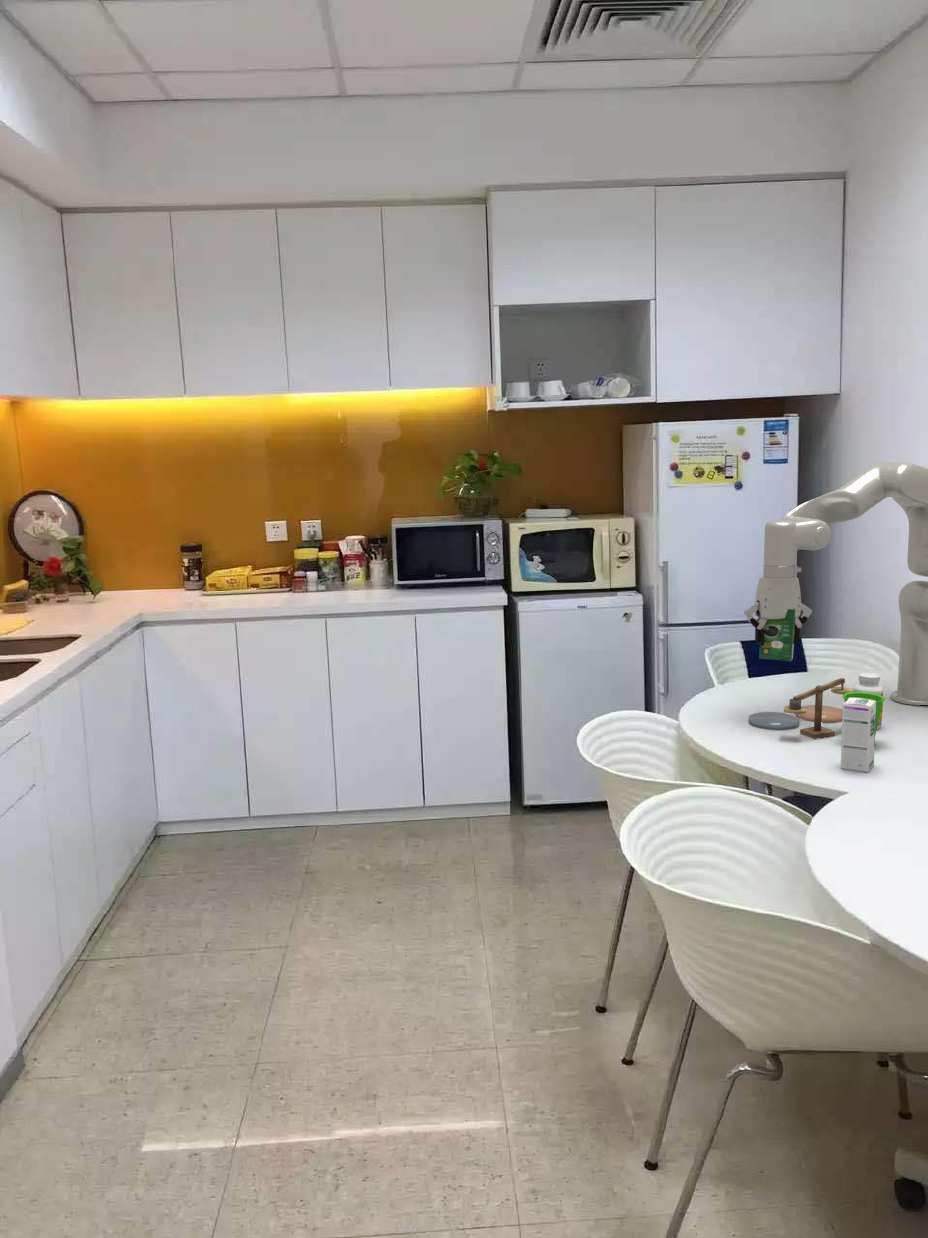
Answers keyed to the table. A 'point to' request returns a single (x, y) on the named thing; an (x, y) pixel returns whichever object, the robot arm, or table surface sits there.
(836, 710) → the dish
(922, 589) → the robot arm
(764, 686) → the table surface
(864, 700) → the syrup box
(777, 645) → the coffee box
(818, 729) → the balance
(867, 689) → the supplement bottle
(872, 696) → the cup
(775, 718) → the dish
